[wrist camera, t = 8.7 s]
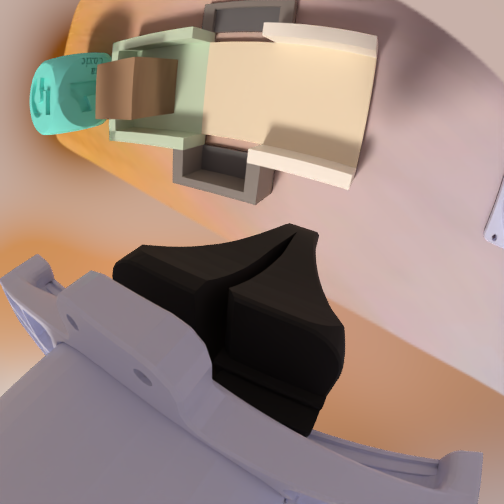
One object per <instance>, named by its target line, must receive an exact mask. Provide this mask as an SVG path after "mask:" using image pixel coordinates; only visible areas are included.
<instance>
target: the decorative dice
mask: <svg viewBox="0 0 504 504" xmlns="http://www.w3.org/2000/svg"><path fill="white" fill-rule="evenodd" d="M111 61H112V58H111V56H110V55H109V54H107V53H81V54H73V55H66V56H62V57H57V58H53V59H50V60H47V61H44V62H43V63H42V64H41V65H40V66H39V68H38V69H37V71H36V73H35V75H34V77H33V81H32V85H31V92H30V112H31V117H32V121H33V124H34V126H35V128H36V129H37V131H38V132H40V133H41V134H42V135H51V134H60V133H67V132H73V131H78V130H83V129H87V128H91V127H95V126H98V125H101V124H103V123H104V122H105V121H106V119H96V117H95V111H96V78H97V65H99V64H103V63H107V62H111Z"/></svg>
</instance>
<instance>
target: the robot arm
mask: <svg viewBox="0 0 504 504" xmlns="http://www.w3.org/2000/svg"><path fill="white" fill-rule="evenodd" d="M494 234H496V237H495V238H494V239H492V236H493V235H494ZM483 235H484V238H485V239H486V240H487V241H488V242H490V243H493V244H495V245H497V246H499V247H501V248H503V249H504V178H503V181H502V184H501V187H500V190H499V193H498V196H497V199H496V202H495V205H494V207H493V210H492V213H491V215H490V218H489V220H488V223H487V225H486V228H485V230H484V233H483ZM318 238H319V235H318V233H317V232H315V231H312V230H309V229H306V228H303V227H299V226H296V225H293V224H290V223H289V224H285V225H283V226H280V227H277V228H275V229H272V230H269V231H266V232H263V233H261V234H258V235H254V236H251V237H248V238H244V239H241V240H237V241H232V242H227V243H222V244H214V245H205V246H195V247H194V246H193V247H166V246H152V245H141V246H140V247H138V248H137V249H135V250H134V251H132V252H131V253H129V254H128V255H126V256H125V257H123V258H122V259H121V260H119V261H118V262H116V264H115V266H114V268H113V275H112V276H113V279H111V278H110V277H108V276H106V275H104V274H101V273H98V272H94V271H89V272H88V273H87V274H85V275H84V276H82V277H81V278H80V279H78V280H77V281H75V282H74V283H72V284H71V285H69V286H68V287H67V288H64V287H63V286H62V285H61V284H60V283H58V282H57V281H56V280H55V279H54V275H53V272H52V269H51V267H50V265H49V263H48V262H47V261H46V260H45V259H43V258H42V257H41V256H40V255H39V254H36V255H35V256H33V257H32V258H30V259H28V260H27V261H25V262H24V263H22V264H21V265H19V266H18V267H16V268H15V269H13V270H12V271H10V272H9V273H7V274H6V275H5V276H3V277H2V278H0V283H1V286H2V288H3V290H4V292H5V295H6V296H7V299H8V301H9V303H10V305H11V307H12V309H13V311H14V312H15V314H16V316H17V318H18V320H19V321H20V323H21V324H22V326H23V327H24V328H25V330H26V331H27V332H28V334H29V335H30V336H31V337H32V339H33V340H34V341H35V343H36V344H37V345H38V347H39V348H40V349H41V350H42V352H43V353H44V354H45V355H46V356H45V357H44V358H42V359H41V360H40V361H39V362H38V363H37V364H36V365H35V366H34V367H32V368H31V369H30V370H29V371H28V372H27V373H26V374H25V375H24V376H22V377H21V378H20V379H19V380H18V381H17V382H16V383H15V384H14V385H13V386H12V387H11V388H10V389H9V390H8V391H6V392H5V393H4V394H3V395H2V396H1V397H0V504H478V497H479V491H480V483H481V474H482V461H483V453H481V452H472V451H454V452H451V453H449V454H447V455H445V456H444V457H443V458H441V459H440V460H438V459H430V458H424V457H417V456H411V455H406V454H400V453H396V452H391V451H387V450H382V449H378V448H373V447H370V446H366V445H362V444H358V443H355V442H350V441H348V440H344V439H341V438H338V437H334V436H331V435H328V434H325V433H322V432H319V431H316V430H313V426H314V424H315V422H316V419H317V416H318V414H319V411H320V410H321V409H322V407H323V405H324V402H325V399H326V396H327V395H328V393H329V392H330V390H331V389H332V387H333V386H334V384H335V383H336V381H337V379H338V378H339V376H340V374H341V372H342V369H343V364H344V357H345V331H344V326H343V325H342V323H341V322H340V320H339V319H338V318H337V316H336V315H335V313H334V312H333V311H332V309H331V307H330V306H329V303H328V301H327V299H326V297H325V294H324V292H323V289H322V286H321V283H320V280H319V276H318V271H317V265H316V245H317V242H318Z"/></svg>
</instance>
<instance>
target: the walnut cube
mask: <svg viewBox="0 0 504 504" xmlns="http://www.w3.org/2000/svg"><path fill="white" fill-rule="evenodd" d="M177 69H178V60H177V59H166V58H152V57H131V58H125V59H120V60H116V61H111V62H107V63H103V64H99V65H97V78H96V111H95V117H96V119H121V120H133V119H139V118H145V117H151V116H158V115H165V114H172V113H174V106H175V92H176V79H177Z"/></svg>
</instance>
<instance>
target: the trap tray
mask: <svg viewBox="0 0 504 504" xmlns="http://www.w3.org/2000/svg"><path fill="white" fill-rule="evenodd" d="M296 11H297V2H296V0H245V1H232V2H222V3H213V4H206V5H205V10H204V16H203V23H202V29H201V28H197V27H194V26H193V27H185V28H179V29H172V30H167V31H161V32H156V33H151V34H147V35H142V36H138V37H134V38H130V39H126V40H122V41H119V42H115V43H113V51H112V61H116V60H120V59H125V58H131V57H152V58H166V59H177V60H178V69H177V79H176V92H175V106H174V113H172V114H165V115H158V116H151V117H145V118H139V119H133V120H121V119H109V139H110V140H111V141H121V142H129V143H137V144H145V145H152V146H159V147H166V148H172V149H173V183H176V184H180V185H184V186H188V187H192V188H196V189H199V190H203V191H207V192H211V193H214V194H218V195H221V196H225V197H229V198H232V199H236V200H239V201H243V202H246V203H250V204H253V205H256V204H257V203H259V202H260V201H261V200H263V199H264V198H265V197H267V196H268V195H269V194H271V191H272V184H273V177H274V170H279V171H283V172H287V173H291V174H295V175H298V176H302V177H306V178H309V179H313V180H316V181H320V182H323V183H327V184H330V185H333V186H337V187H340V188H343V189H347V190H349V188H350V186H351V184H352V182H353V180H354V176H355V172H356V167H357V163H358V159H359V154H360V150H361V145H362V141H363V136H364V131H365V126H366V121H367V116H368V111H369V105H370V99H371V94H372V88H373V81H374V75H375V68H376V61H377V53H378V39H377V36H375V35H370V34H366V33H361V32H356V31H350V30H345V29H338V28H332V27H324V26H316V25H306V24H295V19H296ZM225 32H263V33H262V36H264V37H266V38H268V39H270V40H272V41H274V42H276V43H274V42H215V34H216V33H225ZM206 135H212V136H219V137H225V138H231V139H237V140H242V141H248V142H253V143H258V144H262V145H259V146H256V147H253V148H249V149H248V152H244V151H239V150H234V149H229V148H224V147H218V146H212V145H206V144H205V136H206Z"/></svg>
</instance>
